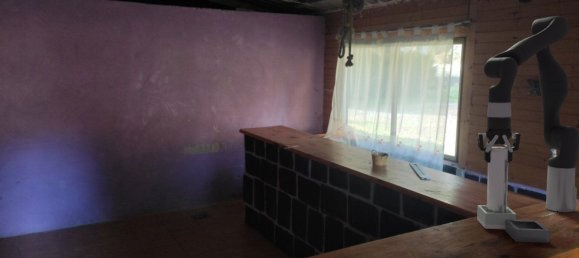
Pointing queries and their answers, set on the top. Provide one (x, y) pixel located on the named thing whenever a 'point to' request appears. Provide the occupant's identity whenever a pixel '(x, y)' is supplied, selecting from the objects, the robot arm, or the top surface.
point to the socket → (527, 231)
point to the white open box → (494, 218)
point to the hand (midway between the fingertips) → (497, 162)
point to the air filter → (497, 180)
